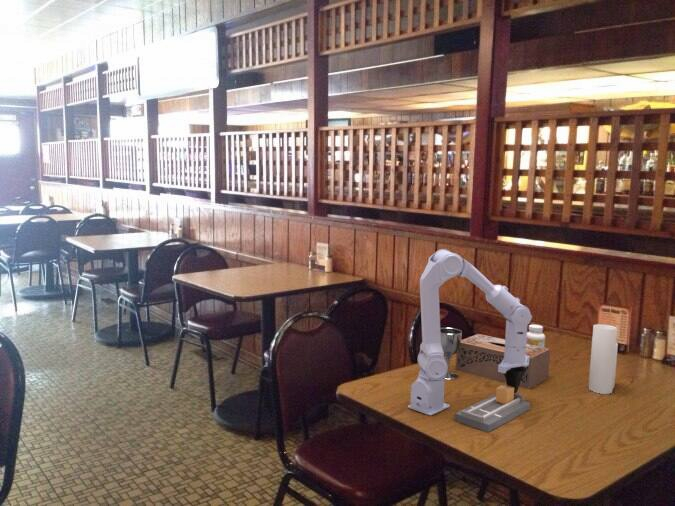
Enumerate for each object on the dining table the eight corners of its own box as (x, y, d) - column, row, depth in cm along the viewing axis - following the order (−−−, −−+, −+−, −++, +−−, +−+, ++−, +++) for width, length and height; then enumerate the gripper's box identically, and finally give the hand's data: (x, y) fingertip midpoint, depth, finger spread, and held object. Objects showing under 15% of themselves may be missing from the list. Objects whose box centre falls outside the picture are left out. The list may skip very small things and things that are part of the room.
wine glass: (431, 377, 188) (433, 331, 186) (439, 370, 195) (441, 326, 193) (455, 381, 185) (457, 335, 183) (462, 374, 192) (464, 329, 190)
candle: (611, 395, 174) (616, 330, 172) (585, 391, 178) (590, 327, 176) (615, 384, 184) (620, 323, 182) (590, 380, 188) (595, 319, 185)
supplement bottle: (519, 359, 209) (521, 324, 207) (533, 357, 211) (536, 323, 210) (533, 365, 203) (535, 329, 201) (547, 363, 205) (550, 327, 204)
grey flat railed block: (487, 432, 147) (488, 420, 147) (454, 420, 154) (454, 408, 154) (529, 409, 163) (530, 397, 163) (497, 399, 170) (498, 388, 169)
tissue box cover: (548, 378, 190) (550, 348, 189) (529, 389, 179) (531, 358, 178) (476, 361, 207) (478, 333, 206) (455, 370, 196) (457, 341, 195)
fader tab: (506, 404, 160) (507, 390, 159) (495, 401, 162) (496, 387, 162) (513, 400, 163) (514, 387, 162) (503, 397, 165) (503, 384, 164)
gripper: (516, 353, 156) (513, 402, 157) (540, 343, 166) (537, 389, 168) (492, 347, 161) (489, 395, 162) (517, 338, 171) (515, 383, 173)
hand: (512, 391), depth 165 cm, fingers closed
